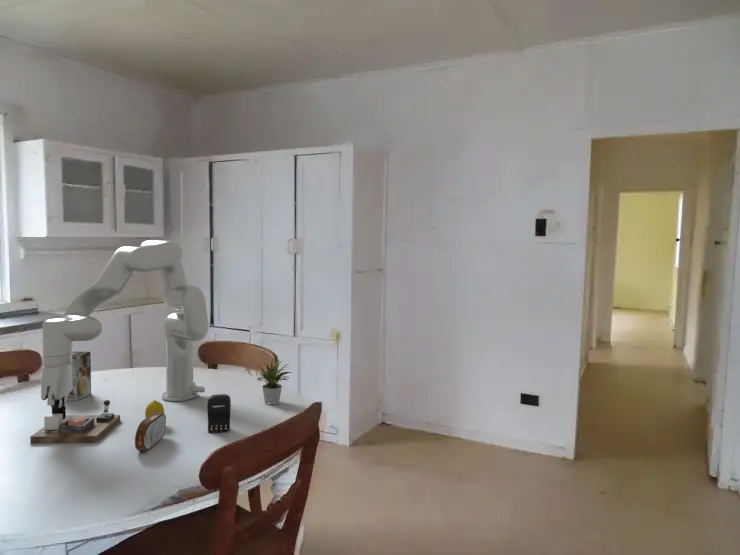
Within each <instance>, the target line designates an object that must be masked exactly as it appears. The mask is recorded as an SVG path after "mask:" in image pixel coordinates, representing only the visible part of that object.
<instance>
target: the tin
mask: <svg viewBox="0 0 740 555" xmlns="http://www.w3.org/2000/svg"><path fill="white" fill-rule="evenodd" d="M166 421H167V416H166V414H165V412H164V413H157V412H154V413H153V414H151V415H150V416H148V417H147V418H146V417H145V418H144V419H143V420H141V422H140V423H139V424H138V426H137V429H136V432H135V436H134V446H135V449H136V450H137V451H143V452H146V451H147V452H148V451H149V450H151V448H153V447H155V445H157V444H158V443H159V442H160V441H161V439H163V436H164V435H165V431H166Z"/></svg>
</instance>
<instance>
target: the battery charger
mask: <svg viewBox="0 0 740 555" xmlns="http://www.w3.org/2000/svg"><path fill="white" fill-rule="evenodd" d="M206 404H207V406H206V408H207V411H206V412H207V432H208V433H212V432H214V433H226V431H227V432H229V431H230V430H231V412H232V410H231V408H232V400H231V396H230V395H229V394H228V393H216V394H215V393H213V394H211V395H209V396H208V398H207V403H206Z"/></svg>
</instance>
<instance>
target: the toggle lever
mask: <svg viewBox="0 0 740 555" xmlns="http://www.w3.org/2000/svg"><path fill="white" fill-rule="evenodd" d="M103 404H104V405H103V406H104V407H103V413H109V406H110V404H111V401H110V400H109V399H106V400H104V401H103Z"/></svg>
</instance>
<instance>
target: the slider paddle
mask: <svg viewBox="0 0 740 555" xmlns="http://www.w3.org/2000/svg"><path fill="white" fill-rule="evenodd" d="M43 422H44V426H43V428H44V427H45V430H59V426H60V425H61V424H63V414H52V413H47V414H46V415H44V420H43Z"/></svg>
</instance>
